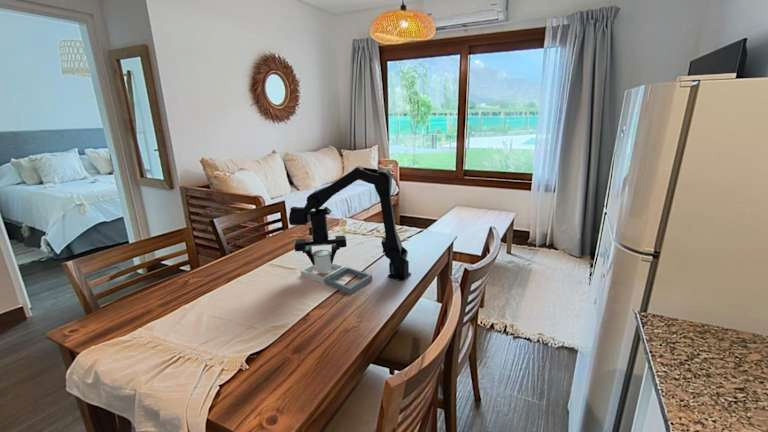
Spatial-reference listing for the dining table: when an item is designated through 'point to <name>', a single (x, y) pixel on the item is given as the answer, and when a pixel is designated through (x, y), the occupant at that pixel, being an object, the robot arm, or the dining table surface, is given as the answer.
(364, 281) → the tray
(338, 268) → the tray
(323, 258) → the shot glass
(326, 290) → the dining table surface
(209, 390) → the dining table surface
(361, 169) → the robot arm
